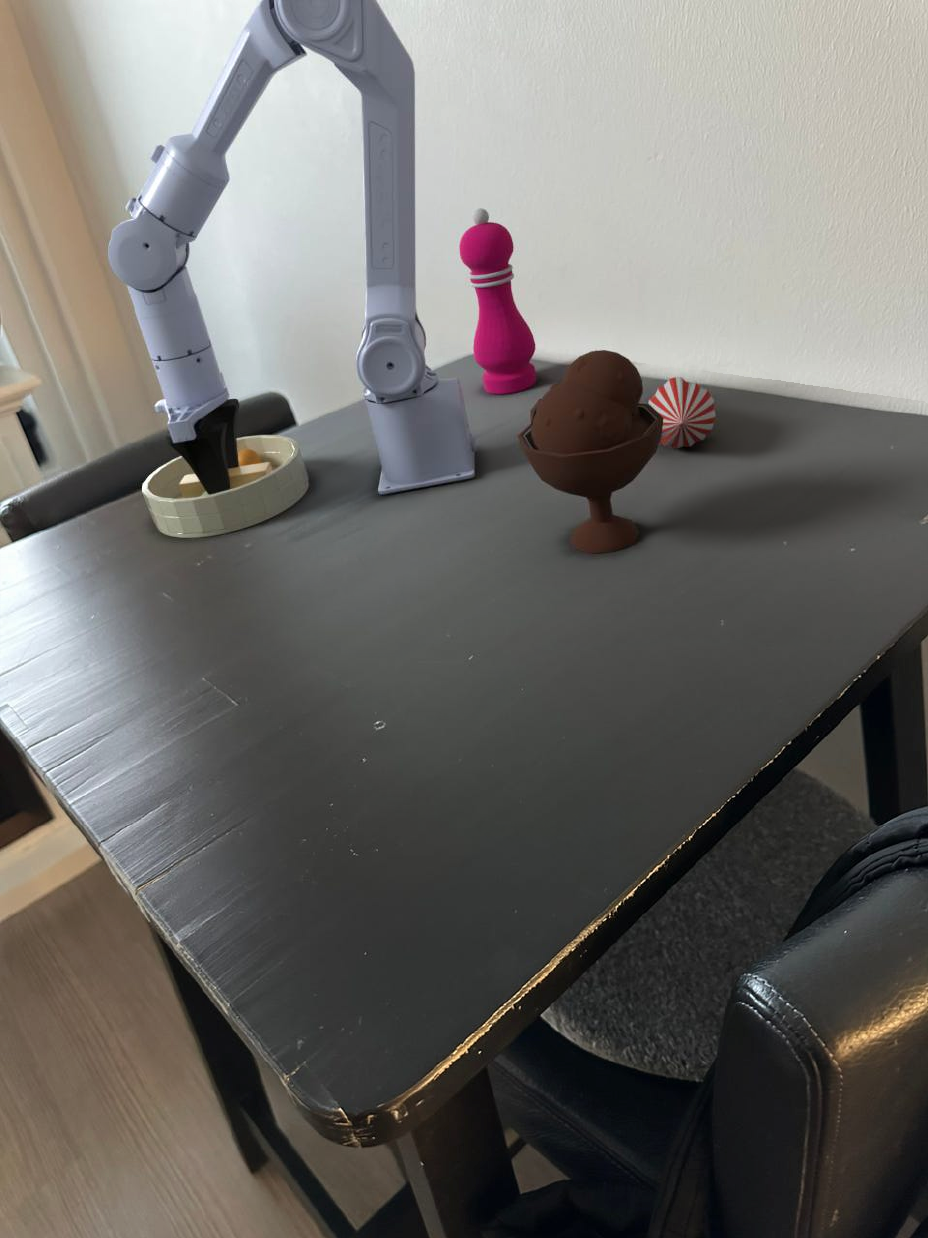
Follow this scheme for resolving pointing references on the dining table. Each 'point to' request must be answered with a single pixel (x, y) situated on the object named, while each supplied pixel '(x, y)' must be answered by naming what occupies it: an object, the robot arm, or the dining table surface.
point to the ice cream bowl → (594, 442)
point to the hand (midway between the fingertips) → (224, 484)
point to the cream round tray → (228, 492)
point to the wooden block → (237, 476)
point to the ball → (248, 457)
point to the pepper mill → (497, 309)
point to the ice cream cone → (683, 412)
